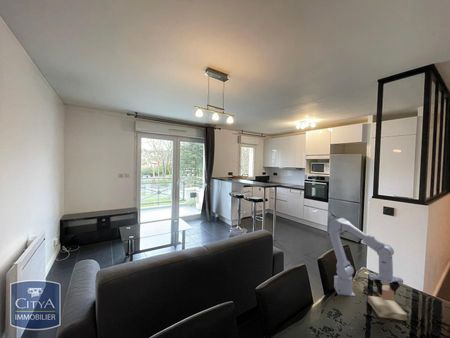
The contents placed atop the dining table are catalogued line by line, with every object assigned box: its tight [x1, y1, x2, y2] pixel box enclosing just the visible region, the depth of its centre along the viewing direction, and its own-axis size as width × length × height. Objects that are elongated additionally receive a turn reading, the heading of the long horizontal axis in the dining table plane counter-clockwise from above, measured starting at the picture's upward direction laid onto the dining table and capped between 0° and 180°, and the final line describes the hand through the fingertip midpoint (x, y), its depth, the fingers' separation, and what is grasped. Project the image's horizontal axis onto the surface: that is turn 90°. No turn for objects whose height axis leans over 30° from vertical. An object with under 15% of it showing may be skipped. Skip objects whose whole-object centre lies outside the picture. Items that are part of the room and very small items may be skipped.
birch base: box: [367, 295, 408, 321], centre depth 103 cm, size 12×12×3 cm
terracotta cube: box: [377, 284, 395, 301], centre depth 103 cm, size 5×5×5 cm
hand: (385, 294), depth 103 cm, fingers closed on terracotta cube, 5 cm apart
